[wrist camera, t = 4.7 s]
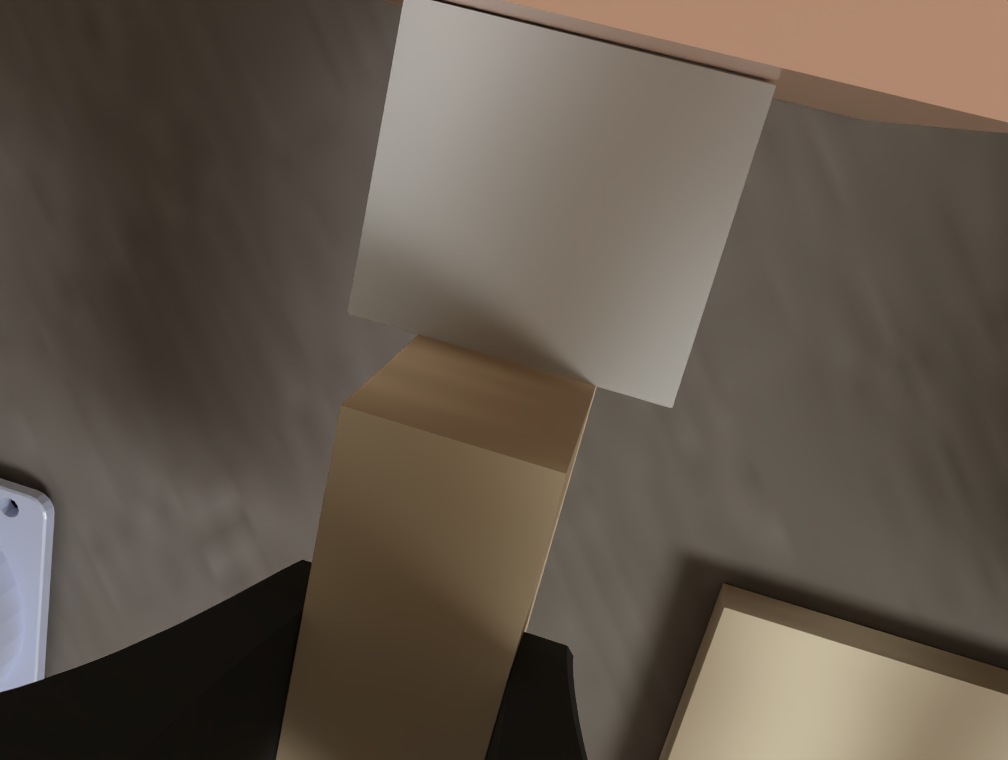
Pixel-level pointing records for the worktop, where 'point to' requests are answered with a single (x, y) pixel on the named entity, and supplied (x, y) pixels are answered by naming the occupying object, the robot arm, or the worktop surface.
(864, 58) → the tile
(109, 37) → the worktop surface
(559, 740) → the robot arm
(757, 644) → the tool board
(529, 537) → the turner
